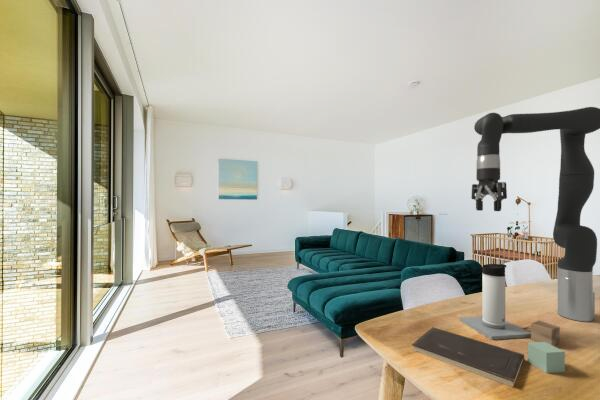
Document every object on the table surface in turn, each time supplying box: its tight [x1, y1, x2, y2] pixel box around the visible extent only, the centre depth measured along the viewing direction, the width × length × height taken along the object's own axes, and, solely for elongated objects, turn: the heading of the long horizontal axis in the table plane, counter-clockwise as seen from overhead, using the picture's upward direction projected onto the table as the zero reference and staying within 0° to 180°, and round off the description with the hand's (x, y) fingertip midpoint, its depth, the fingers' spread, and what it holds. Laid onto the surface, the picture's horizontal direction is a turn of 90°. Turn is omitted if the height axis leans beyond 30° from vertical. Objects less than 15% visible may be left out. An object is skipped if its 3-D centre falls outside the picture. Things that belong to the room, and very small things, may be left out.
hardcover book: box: [411, 326, 525, 388], centre depth 78 cm, size 16×23×2 cm
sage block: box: [527, 341, 566, 374], centre depth 73 cm, size 5×5×5 cm
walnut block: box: [530, 320, 561, 347], centre depth 86 cm, size 5×5×5 cm
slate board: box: [459, 316, 531, 340], centre depth 94 cm, size 14×14×1 cm
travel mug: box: [481, 263, 507, 329], centre depth 94 cm, size 6×7×20 cm
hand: (488, 210), depth 109 cm, fingers open, 8 cm apart
